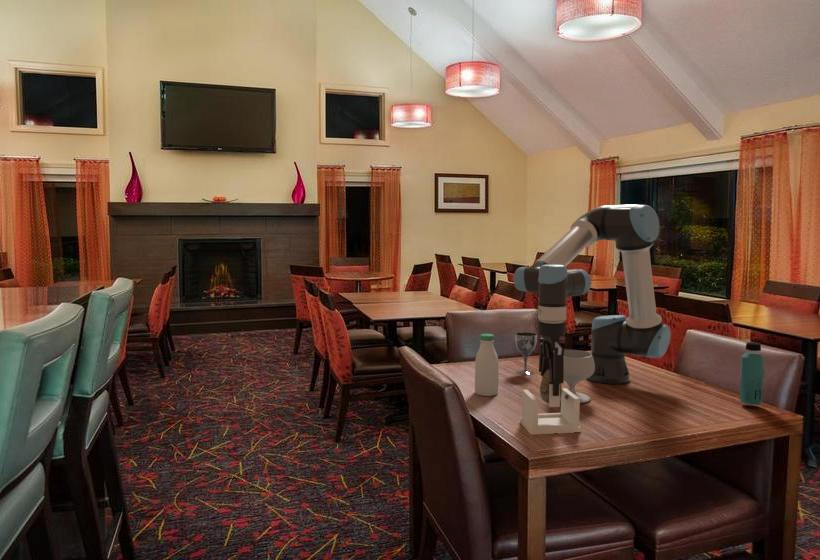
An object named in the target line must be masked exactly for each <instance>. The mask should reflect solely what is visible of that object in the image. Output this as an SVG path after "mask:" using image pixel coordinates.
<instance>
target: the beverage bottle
mask: <svg viewBox="0 0 820 560" xmlns="http://www.w3.org/2000/svg"><path fill="white" fill-rule="evenodd" d="M745 350H746V351H752V352H745V353H743V354H742V355H741V360H740V361H741V362H740V363H741V364H740V365H741V366H740V378H739V388H738V389H739V390H738V391H739V394H738V395H739V396H738V397H739V398H738V399H739V401H740V402H741V403H743V404H746V405H754V406H757V405H762V404H763V402H764V388H765V387H764V378H765V357H764V356H763V355H762V354H761V353H758V352H760V351H761V350H762V345H761V343H759V342H752V341H751V342H750V341H749V342H746V344H745Z"/></svg>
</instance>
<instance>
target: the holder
mask: <svg viewBox="0 0 820 560" xmlns="http://www.w3.org/2000/svg"><path fill="white" fill-rule="evenodd" d="M521 393H522V394H521V397H522V398H521V416H520V417H519V423H520V424H521V425H522V427H523V428H524V429H525V430H526V431H527V432H528V434H530V435H532V436H533V435H555V434H554V433H558V434H575V433H574V432H581V433H582V431H581V430H582V427H581V426H580V407H581V406H580V404H581V403H580V398H578V397H577V396H576V395H574V394H573V393H572V392H570V391H569V388H564V387H562V395H561V401H560V412H552V413H551V412H550V413H548V412H547V413H546V412H545V413H539V404H540V403H539V399H538V398H537V397H536V395H534V394H533V393H531V391H530V390H529V389H522V391H521Z"/></svg>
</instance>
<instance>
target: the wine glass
mask: <svg viewBox="0 0 820 560" xmlns="http://www.w3.org/2000/svg"><path fill="white" fill-rule="evenodd" d="M537 334H538V333H536V332H533V331H532V332H531V331H518V332H515V336H514V337H515V338H514V339H515V345H516V348H517V350H518V351H519V352H520V354H521V355H522V357H523V360H524V361H523V362H524V363H523V364H524V366H523V367H524V368H523V369H520V370H516V371H517V372H515V373H516V374H517V375H520V374H521V375H523V376H531V375H535V374H536V372H535V371H532V370H528V369H527V368H528V367H527V366H528V365H527V364H528V363H527V362H528V358H529V356H530V355H531V354H532V352H533V351H535V349H536V346H537V338H538V335H537Z"/></svg>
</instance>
